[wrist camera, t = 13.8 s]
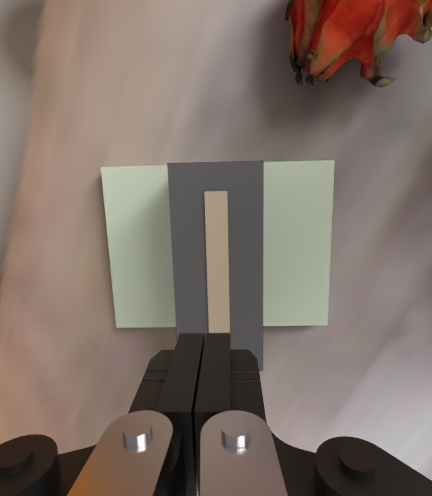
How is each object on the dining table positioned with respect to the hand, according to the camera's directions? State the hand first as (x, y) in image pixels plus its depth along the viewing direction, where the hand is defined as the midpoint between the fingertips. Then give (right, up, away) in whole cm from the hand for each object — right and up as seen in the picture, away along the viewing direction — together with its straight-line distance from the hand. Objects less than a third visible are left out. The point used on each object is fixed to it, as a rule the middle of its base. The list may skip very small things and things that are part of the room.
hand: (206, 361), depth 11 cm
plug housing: (+1, +3, +15) cm, 15 cm away
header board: (0, +4, +16) cm, 17 cm away
